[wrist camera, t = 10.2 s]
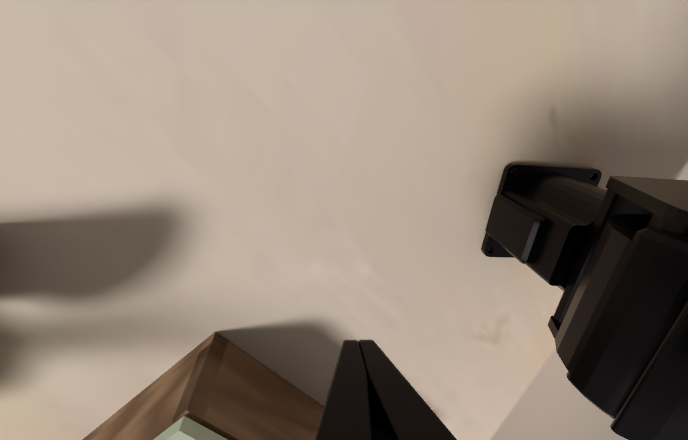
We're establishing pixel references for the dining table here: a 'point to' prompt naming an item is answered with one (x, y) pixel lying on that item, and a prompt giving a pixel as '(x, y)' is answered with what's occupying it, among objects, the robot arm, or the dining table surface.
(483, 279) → the dining table surface
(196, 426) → the lid
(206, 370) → the walnut box
